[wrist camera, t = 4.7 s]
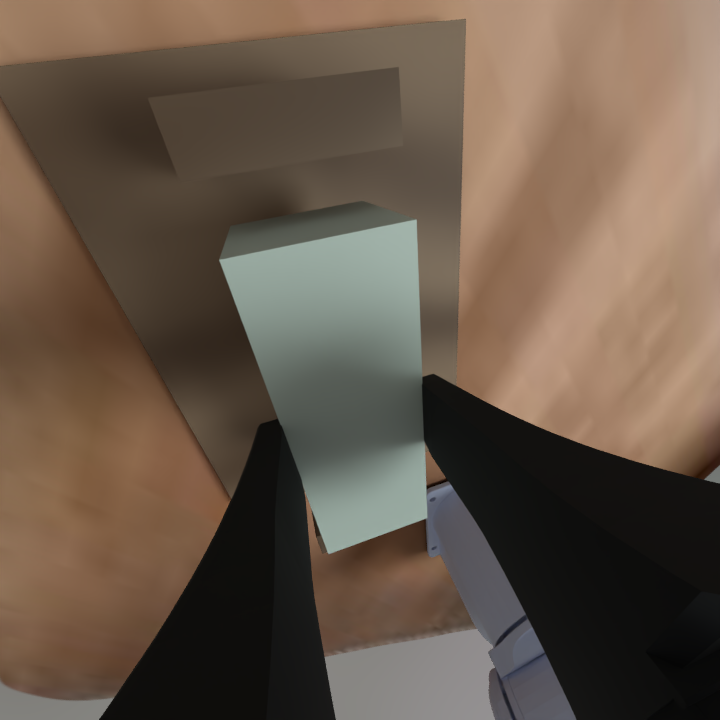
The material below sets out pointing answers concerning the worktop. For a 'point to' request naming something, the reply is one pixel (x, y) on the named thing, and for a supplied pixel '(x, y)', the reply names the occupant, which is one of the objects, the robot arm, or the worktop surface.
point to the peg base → (247, 185)
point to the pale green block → (340, 357)
